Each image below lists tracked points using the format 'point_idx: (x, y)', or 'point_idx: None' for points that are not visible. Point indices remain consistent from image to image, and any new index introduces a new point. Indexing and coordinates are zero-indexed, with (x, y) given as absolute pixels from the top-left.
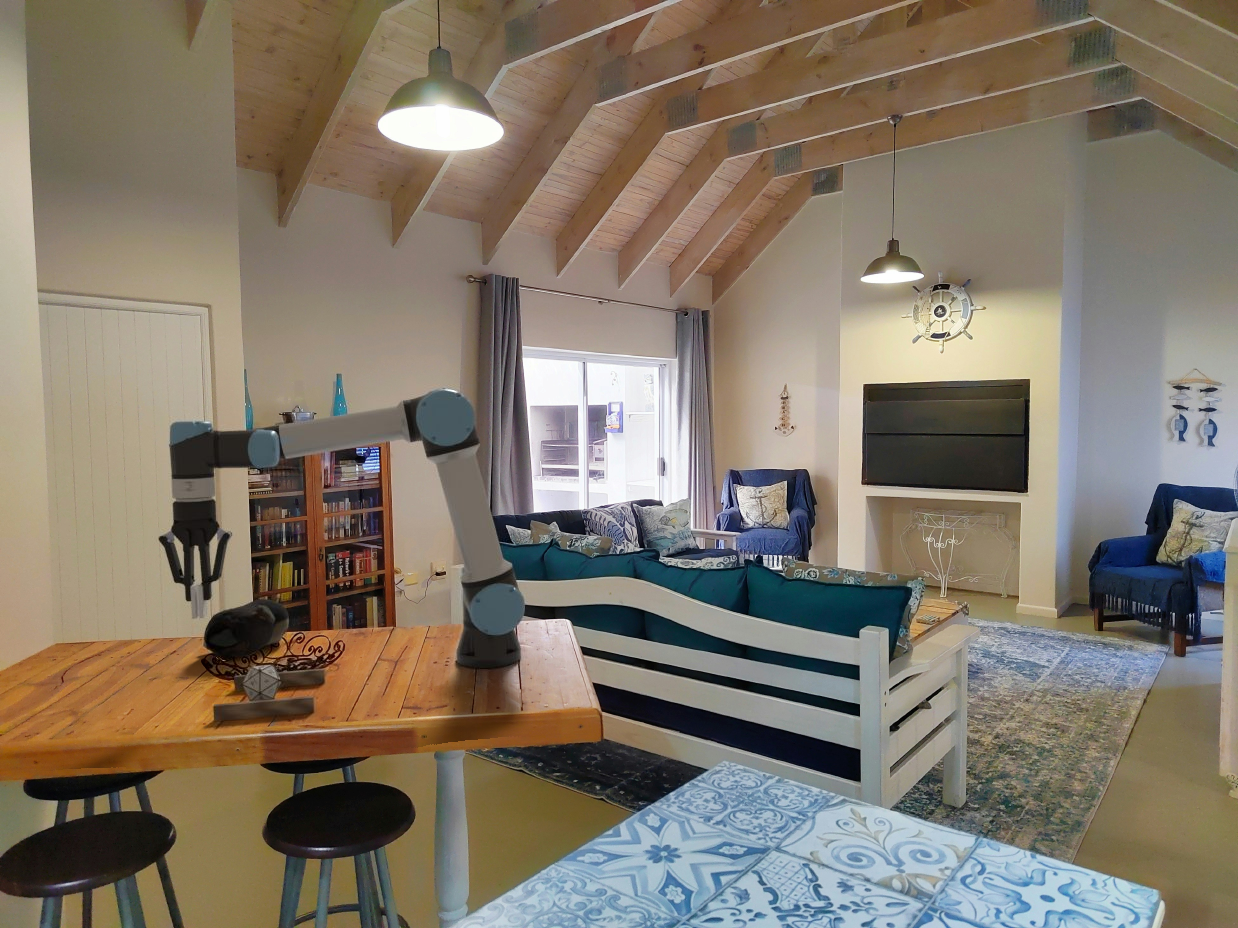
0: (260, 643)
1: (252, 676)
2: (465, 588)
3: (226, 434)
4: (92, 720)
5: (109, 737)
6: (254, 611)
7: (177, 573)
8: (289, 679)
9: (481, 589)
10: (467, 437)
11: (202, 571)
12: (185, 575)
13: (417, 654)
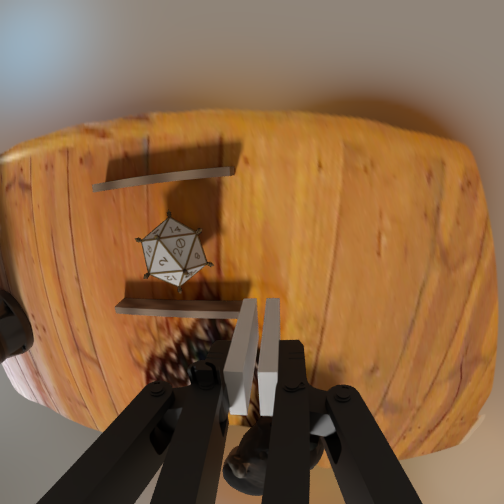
0: (247, 431)
1: (174, 235)
2: None
3: None
4: (418, 219)
5: (373, 138)
6: (251, 469)
7: (345, 423)
8: (162, 304)
9: None
10: None
11: (204, 426)
12: (301, 415)
13: (69, 362)
